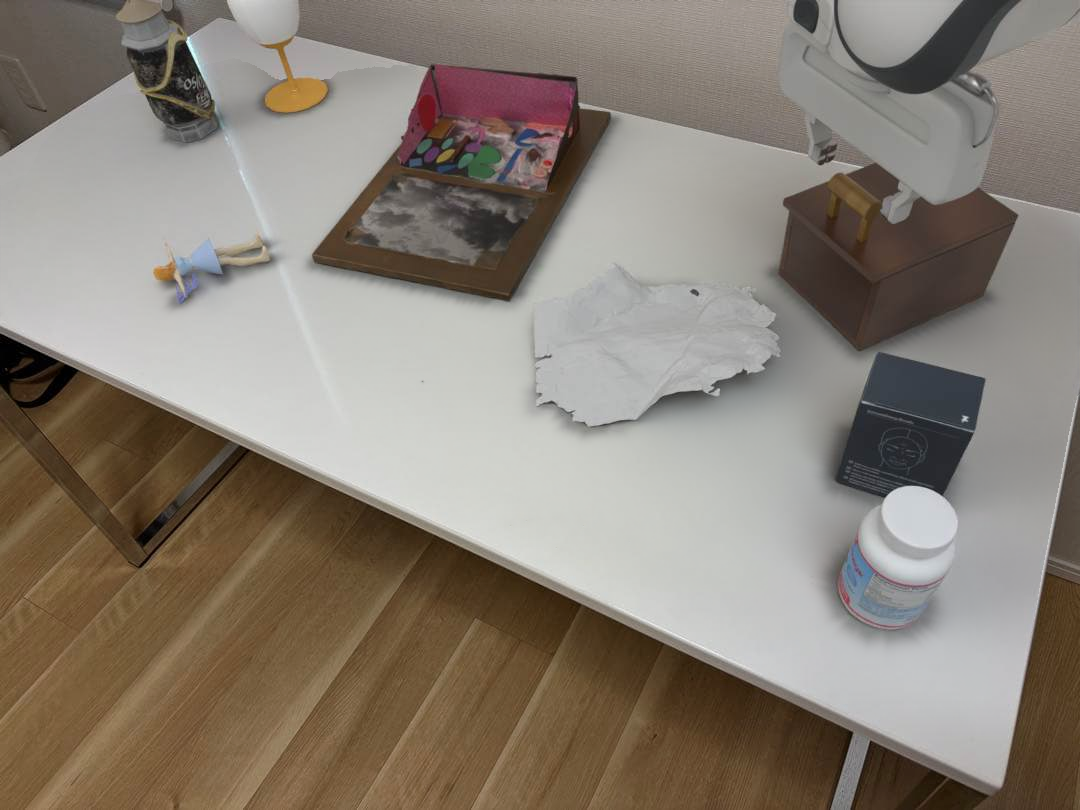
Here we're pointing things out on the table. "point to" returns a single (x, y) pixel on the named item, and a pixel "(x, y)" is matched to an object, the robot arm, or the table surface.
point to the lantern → (167, 71)
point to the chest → (886, 284)
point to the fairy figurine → (207, 262)
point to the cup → (278, 49)
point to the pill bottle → (899, 558)
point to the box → (910, 426)
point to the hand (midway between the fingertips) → (855, 187)
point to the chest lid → (875, 243)
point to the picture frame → (470, 181)
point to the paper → (644, 344)
